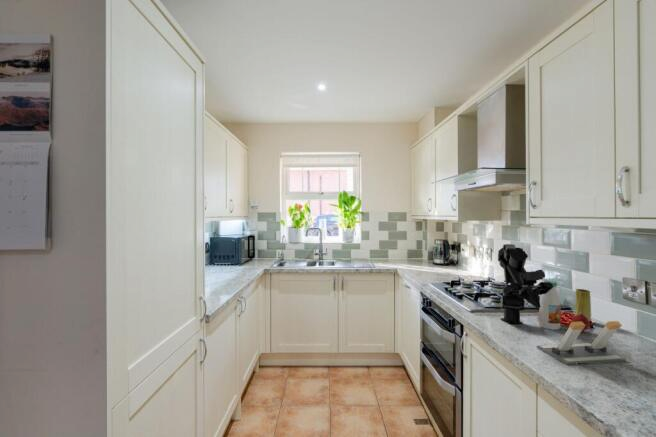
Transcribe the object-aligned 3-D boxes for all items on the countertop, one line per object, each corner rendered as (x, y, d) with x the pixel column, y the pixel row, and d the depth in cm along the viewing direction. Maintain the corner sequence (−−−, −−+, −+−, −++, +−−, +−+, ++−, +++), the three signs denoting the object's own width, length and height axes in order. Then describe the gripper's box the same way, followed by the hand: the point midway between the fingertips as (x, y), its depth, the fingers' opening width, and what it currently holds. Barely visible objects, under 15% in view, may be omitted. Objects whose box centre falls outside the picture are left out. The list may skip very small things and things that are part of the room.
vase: (577, 322, 144) (578, 291, 144) (571, 318, 150) (572, 288, 149) (593, 324, 142) (594, 292, 142) (586, 319, 148) (587, 289, 148)
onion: (582, 329, 136) (583, 310, 136) (592, 334, 131) (593, 315, 130) (568, 328, 137) (568, 310, 137) (577, 333, 131) (577, 314, 131)
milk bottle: (540, 328, 137) (540, 282, 136) (537, 322, 144) (538, 279, 143) (561, 331, 133) (562, 284, 133) (558, 325, 140) (559, 280, 140)
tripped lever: (555, 349, 113) (571, 321, 106) (565, 348, 113) (581, 321, 106) (558, 353, 111) (575, 325, 105) (568, 352, 112) (585, 325, 105)
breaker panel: (536, 347, 118) (536, 341, 118) (589, 344, 120) (590, 338, 120) (566, 364, 105) (567, 357, 105) (625, 361, 107) (625, 354, 107)
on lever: (588, 347, 114) (607, 321, 107) (597, 346, 115) (617, 321, 107) (591, 351, 113) (611, 325, 106) (601, 350, 113) (621, 325, 106)
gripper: (508, 263, 126) (528, 298, 116) (550, 262, 129) (574, 296, 118) (495, 278, 134) (512, 312, 124) (534, 277, 137) (555, 310, 126)
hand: (539, 307), depth 123 cm, fingers closed
